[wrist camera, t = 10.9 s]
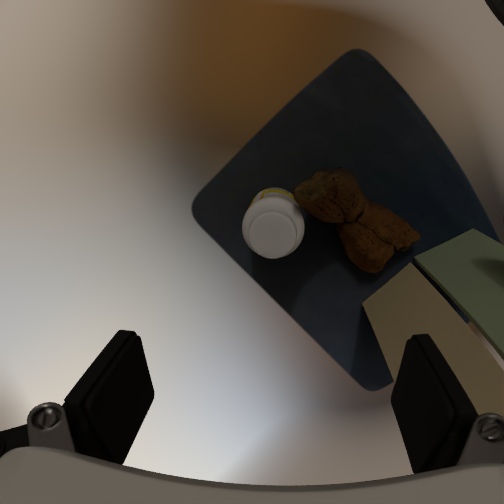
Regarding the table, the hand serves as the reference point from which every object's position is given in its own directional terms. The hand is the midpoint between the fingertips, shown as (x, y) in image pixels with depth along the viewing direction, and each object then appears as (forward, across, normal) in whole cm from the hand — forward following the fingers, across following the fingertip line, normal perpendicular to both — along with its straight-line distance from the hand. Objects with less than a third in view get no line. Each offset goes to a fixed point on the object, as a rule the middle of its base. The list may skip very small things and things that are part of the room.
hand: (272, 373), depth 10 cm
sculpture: (+27, -9, 0) cm, 28 cm away
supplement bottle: (+27, 0, 0) cm, 27 cm away
